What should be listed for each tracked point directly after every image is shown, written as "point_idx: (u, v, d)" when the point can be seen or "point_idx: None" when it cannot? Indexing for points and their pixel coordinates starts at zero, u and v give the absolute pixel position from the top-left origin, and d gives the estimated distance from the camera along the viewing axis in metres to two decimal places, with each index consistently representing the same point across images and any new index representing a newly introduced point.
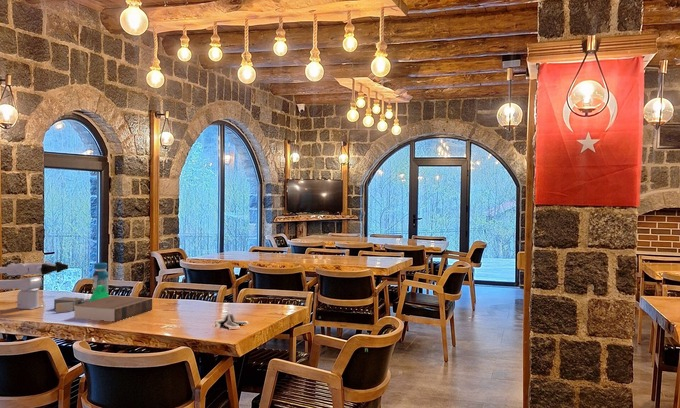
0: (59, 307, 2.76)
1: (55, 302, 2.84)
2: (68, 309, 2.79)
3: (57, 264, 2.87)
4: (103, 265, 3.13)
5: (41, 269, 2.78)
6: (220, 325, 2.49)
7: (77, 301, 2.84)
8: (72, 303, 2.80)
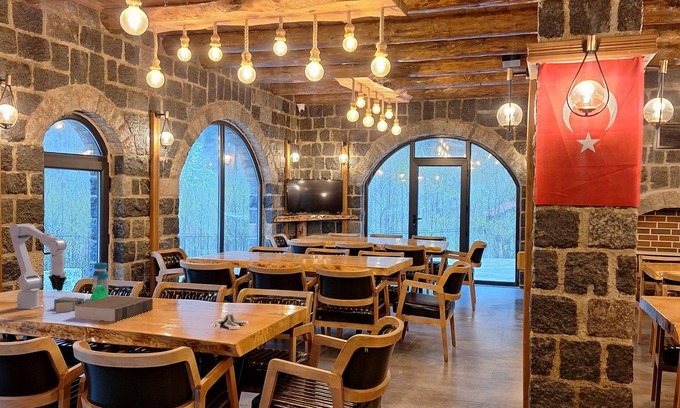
0: (59, 307, 2.76)
1: (55, 302, 2.84)
2: (68, 309, 2.79)
3: None
4: (103, 265, 3.13)
5: (61, 277, 2.77)
6: (220, 325, 2.49)
7: (77, 301, 2.84)
8: (72, 303, 2.80)
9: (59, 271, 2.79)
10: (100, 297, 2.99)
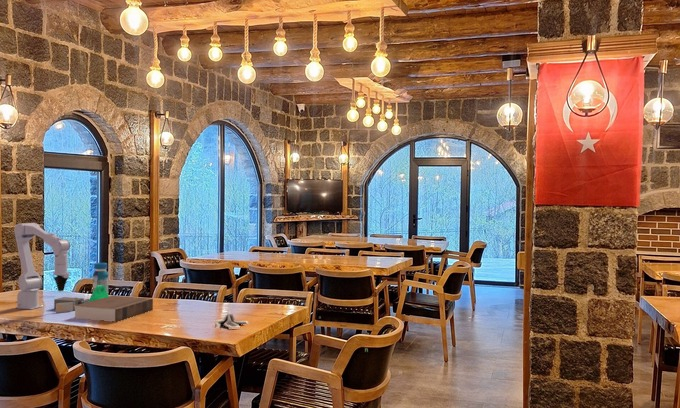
0: (59, 307, 2.76)
1: (55, 302, 2.84)
2: (68, 309, 2.79)
3: None
4: (103, 265, 3.13)
5: (63, 277, 2.77)
6: (220, 325, 2.49)
7: (77, 301, 2.84)
8: (72, 303, 2.80)
9: (63, 272, 2.77)
10: (100, 297, 2.99)
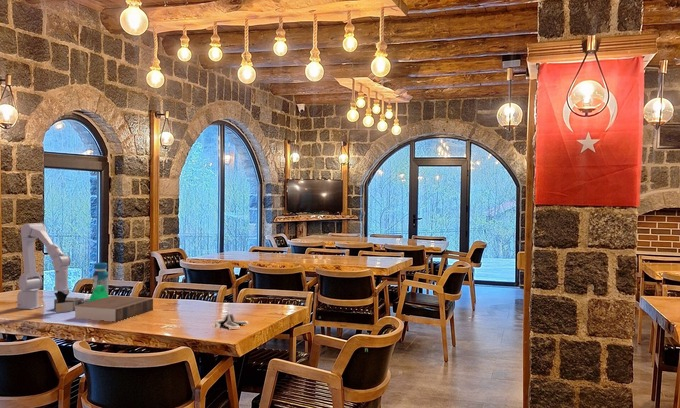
0: (59, 307, 2.76)
1: (55, 302, 2.84)
2: (68, 309, 2.79)
3: (64, 294, 2.80)
4: (103, 265, 3.13)
5: (63, 293, 2.77)
6: (220, 325, 2.49)
7: (77, 301, 2.84)
8: (72, 303, 2.80)
9: (63, 287, 2.76)
10: (100, 297, 2.99)
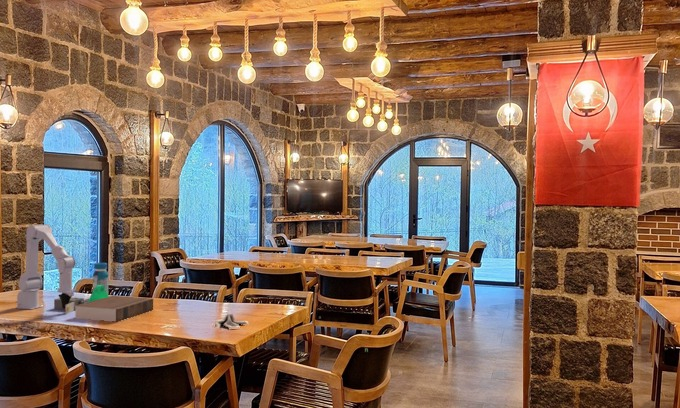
0: (69, 308, 2.74)
1: (55, 302, 2.84)
2: (71, 309, 2.78)
3: (68, 296, 2.76)
4: (103, 265, 3.13)
5: (67, 295, 2.74)
6: (220, 325, 2.49)
7: (77, 301, 2.84)
8: (73, 303, 2.80)
9: (67, 289, 2.73)
10: (99, 297, 2.99)
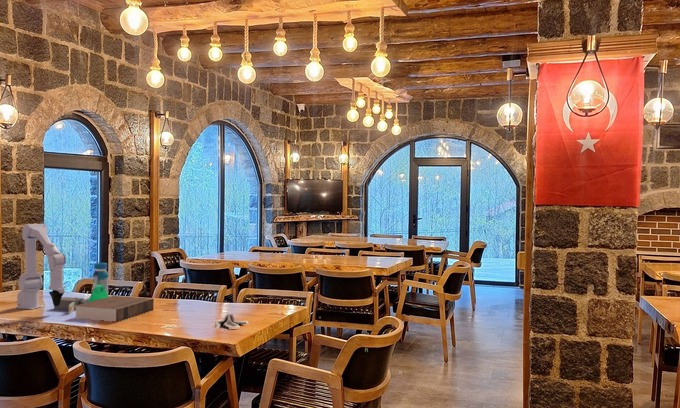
0: (71, 308, 2.75)
1: None
2: (72, 309, 2.79)
3: None
4: (103, 265, 3.13)
5: (58, 292, 2.71)
6: (220, 325, 2.49)
7: (77, 301, 2.84)
8: (74, 303, 2.80)
9: (58, 286, 2.71)
10: (99, 297, 2.99)
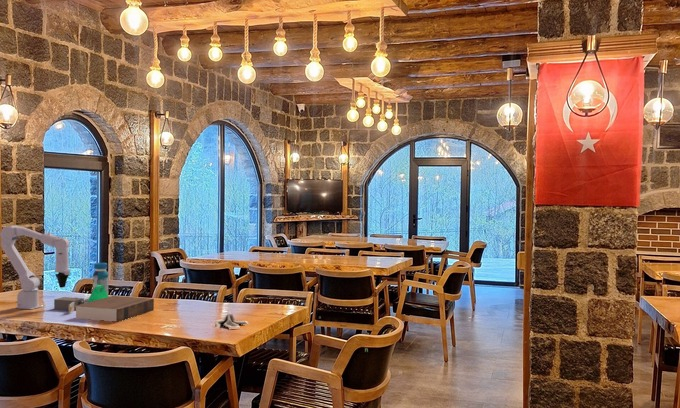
0: (71, 308, 2.75)
1: (55, 302, 2.84)
2: (72, 309, 2.79)
3: None
4: (103, 265, 3.13)
5: (64, 274, 2.87)
6: (220, 325, 2.49)
7: (77, 301, 2.84)
8: (74, 303, 2.80)
9: (64, 269, 2.87)
10: (99, 297, 2.99)
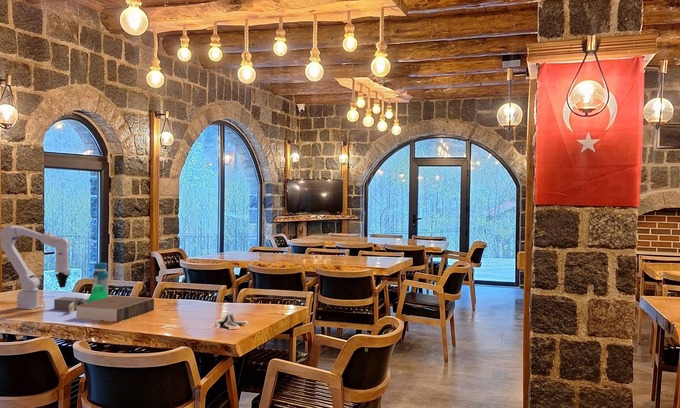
0: (71, 308, 2.75)
1: (55, 302, 2.84)
2: (72, 309, 2.79)
3: None
4: (103, 265, 3.13)
5: (64, 274, 2.88)
6: (220, 325, 2.49)
7: (77, 301, 2.84)
8: (74, 303, 2.80)
9: (64, 269, 2.87)
10: (99, 297, 3.00)
